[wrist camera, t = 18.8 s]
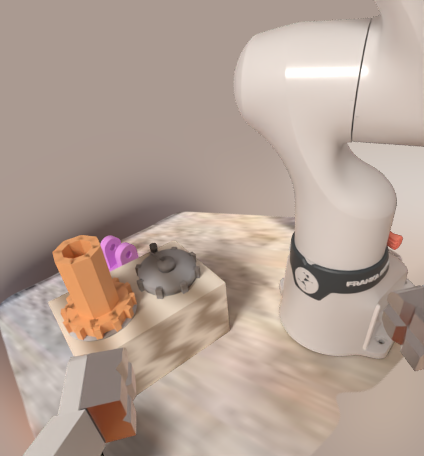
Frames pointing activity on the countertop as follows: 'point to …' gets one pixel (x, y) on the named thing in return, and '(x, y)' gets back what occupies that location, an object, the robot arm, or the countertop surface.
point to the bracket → (117, 252)
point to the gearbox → (161, 313)
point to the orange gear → (91, 289)
